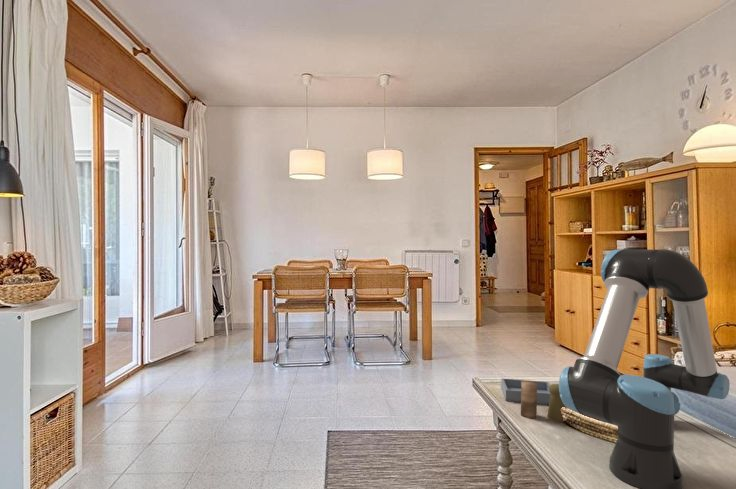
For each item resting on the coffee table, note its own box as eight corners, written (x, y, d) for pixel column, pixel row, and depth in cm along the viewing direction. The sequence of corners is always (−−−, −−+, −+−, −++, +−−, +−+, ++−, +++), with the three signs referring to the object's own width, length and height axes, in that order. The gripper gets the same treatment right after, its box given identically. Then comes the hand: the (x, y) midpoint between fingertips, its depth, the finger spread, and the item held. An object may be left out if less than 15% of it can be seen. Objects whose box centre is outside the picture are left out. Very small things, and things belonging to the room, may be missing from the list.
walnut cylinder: (537, 419, 139) (538, 385, 139) (522, 417, 140) (522, 384, 140) (535, 413, 144) (535, 381, 144) (519, 412, 145) (520, 379, 145)
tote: (557, 405, 152) (557, 394, 152) (505, 400, 155) (505, 390, 155) (548, 391, 166) (548, 381, 166) (501, 388, 170) (501, 378, 170)
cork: (544, 418, 140) (545, 384, 140) (551, 413, 144) (551, 381, 145) (563, 423, 136) (564, 389, 136) (569, 418, 140) (570, 385, 140)
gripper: (650, 429, 128) (579, 426, 128) (606, 399, 152) (547, 398, 153) (651, 404, 128) (580, 402, 128) (606, 379, 153) (547, 377, 153)
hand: (562, 399), depth 141 cm, fingers open, 13 cm apart
